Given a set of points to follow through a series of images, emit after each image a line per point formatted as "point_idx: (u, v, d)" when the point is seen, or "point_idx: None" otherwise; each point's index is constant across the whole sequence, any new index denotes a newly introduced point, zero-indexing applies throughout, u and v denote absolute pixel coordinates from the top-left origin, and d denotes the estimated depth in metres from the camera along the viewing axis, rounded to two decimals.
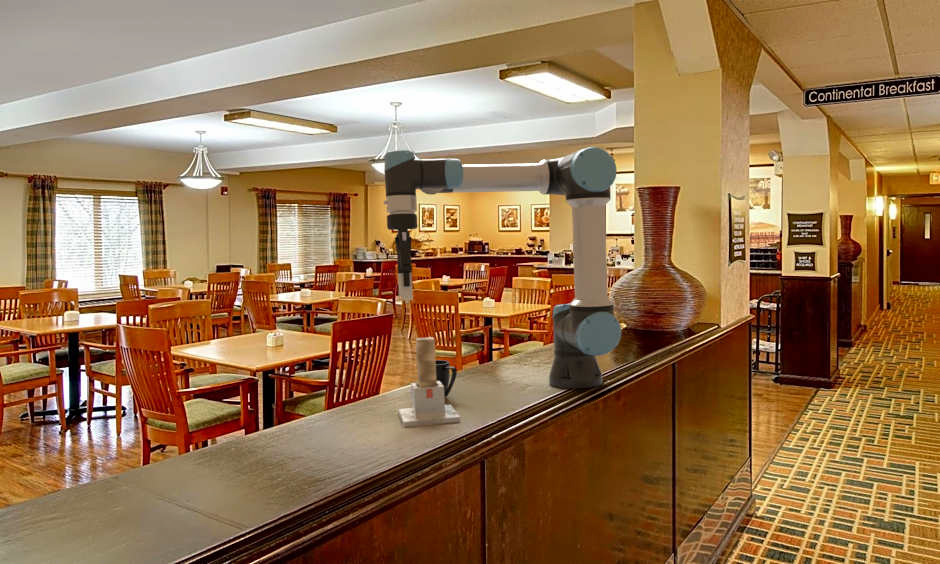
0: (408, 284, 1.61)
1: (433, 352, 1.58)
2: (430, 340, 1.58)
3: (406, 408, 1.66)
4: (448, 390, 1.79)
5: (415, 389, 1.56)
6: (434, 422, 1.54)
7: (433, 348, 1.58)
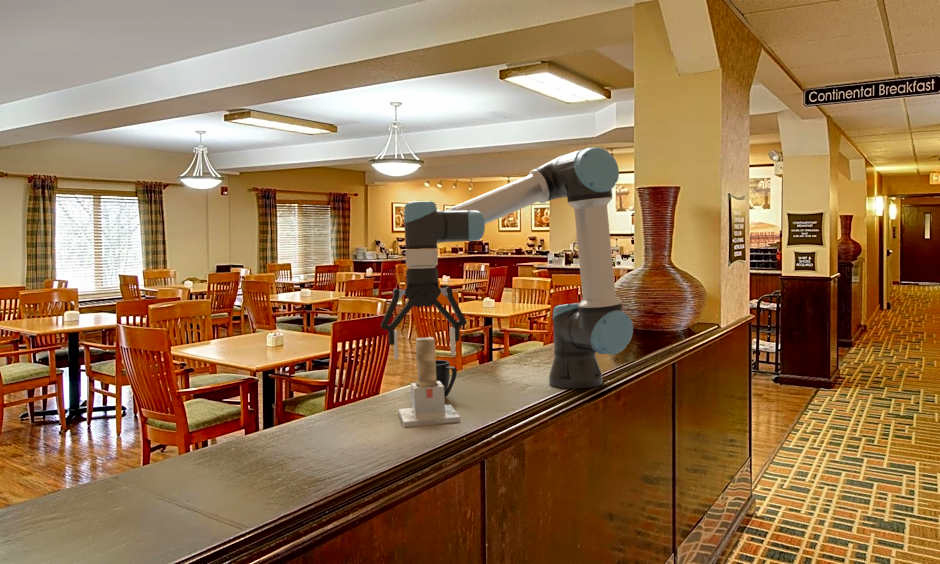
0: (389, 342, 1.58)
1: (433, 352, 1.58)
2: (430, 340, 1.58)
3: (406, 408, 1.66)
4: (448, 390, 1.79)
5: (415, 389, 1.56)
6: (434, 422, 1.54)
7: (433, 348, 1.58)
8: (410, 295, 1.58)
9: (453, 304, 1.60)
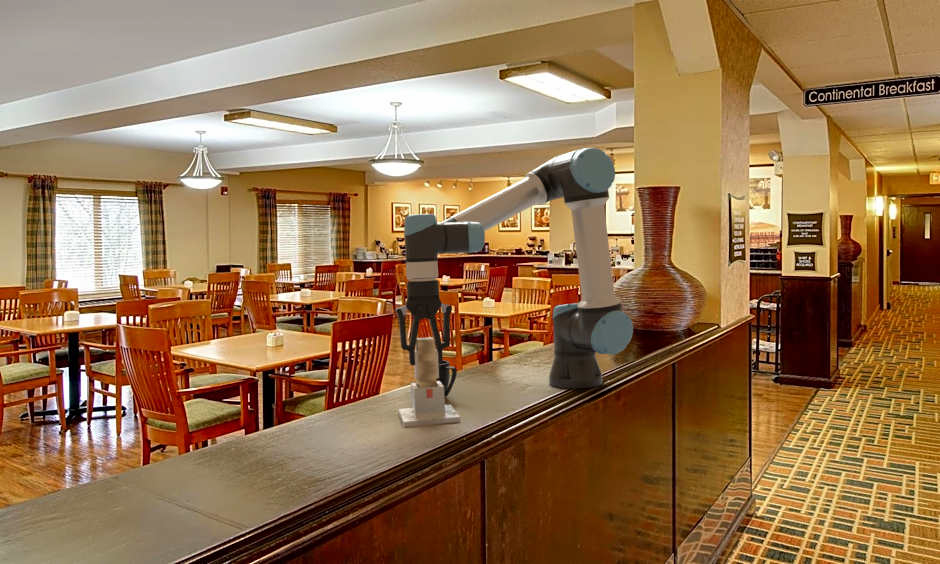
0: (410, 363, 1.59)
1: (433, 352, 1.58)
2: (430, 340, 1.58)
3: (406, 408, 1.66)
4: (448, 390, 1.79)
5: (415, 389, 1.56)
6: (434, 422, 1.54)
7: (433, 348, 1.58)
8: (412, 307, 1.58)
9: (446, 323, 1.59)
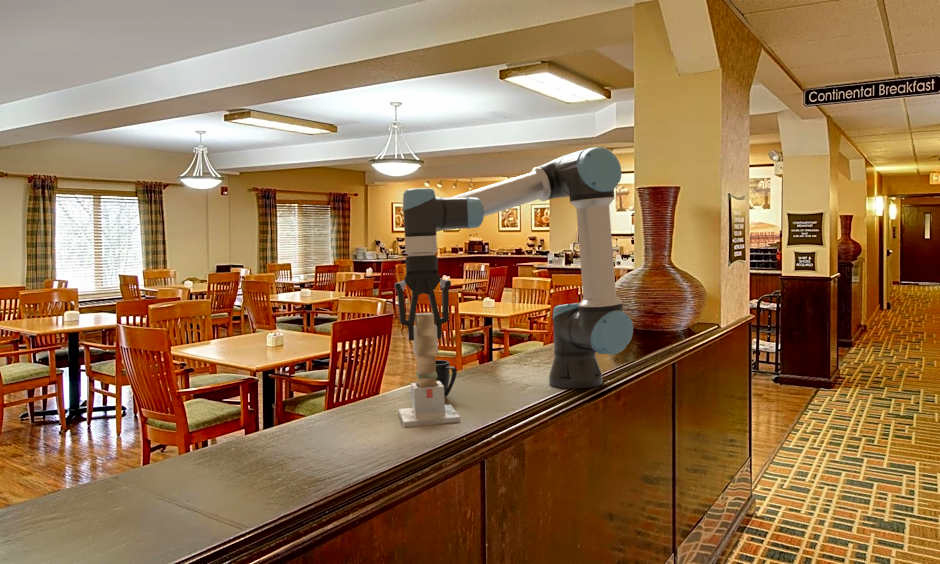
0: (409, 338, 1.59)
1: (432, 327, 1.58)
2: (429, 315, 1.58)
3: (406, 408, 1.66)
4: (448, 390, 1.79)
5: (415, 389, 1.56)
6: (434, 422, 1.54)
7: (432, 323, 1.58)
8: (411, 282, 1.57)
9: (445, 298, 1.59)
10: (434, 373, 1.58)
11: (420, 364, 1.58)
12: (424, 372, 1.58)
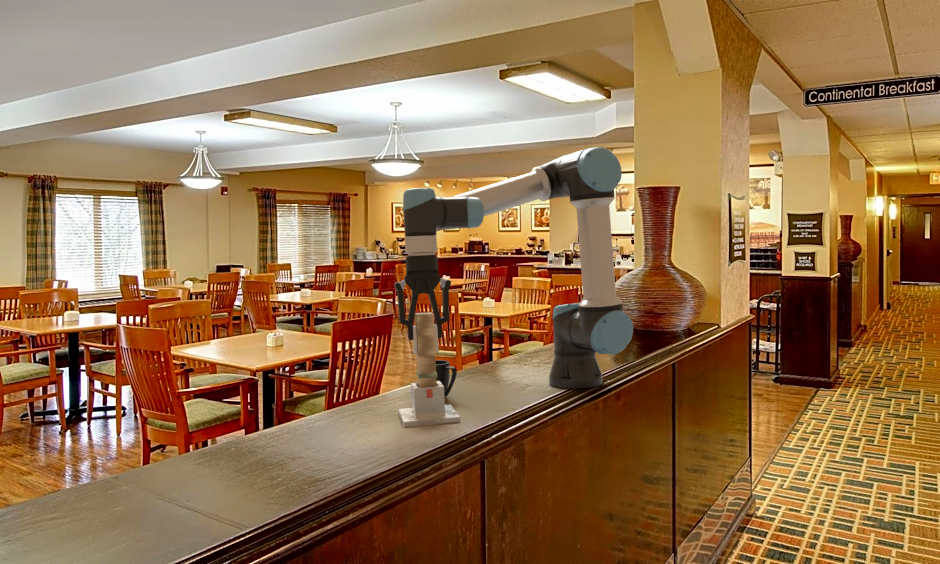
0: (408, 337, 1.59)
1: (432, 327, 1.58)
2: (429, 315, 1.58)
3: (406, 408, 1.66)
4: (448, 390, 1.79)
5: (415, 389, 1.56)
6: (434, 422, 1.54)
7: (432, 323, 1.58)
8: (411, 282, 1.57)
9: (445, 298, 1.59)
10: (434, 373, 1.58)
11: (420, 364, 1.58)
12: (424, 372, 1.58)
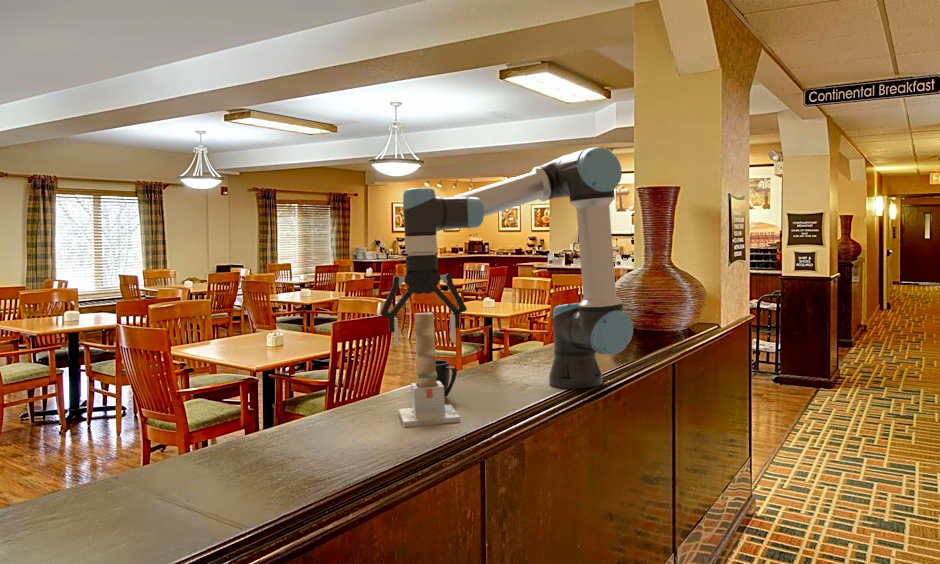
0: (389, 329, 1.58)
1: (432, 327, 1.58)
2: (429, 315, 1.58)
3: (406, 408, 1.66)
4: (448, 390, 1.79)
5: (415, 389, 1.56)
6: (434, 422, 1.54)
7: (432, 323, 1.58)
8: (410, 282, 1.57)
9: (453, 291, 1.59)
10: (434, 373, 1.58)
11: (420, 364, 1.58)
12: (424, 372, 1.58)
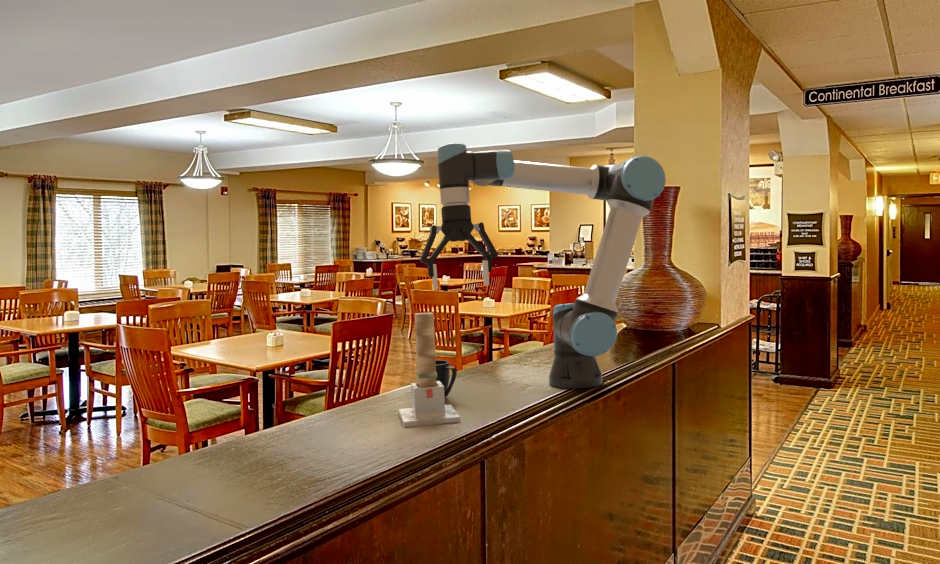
0: (429, 275, 1.72)
1: (432, 327, 1.58)
2: (429, 315, 1.58)
3: (406, 408, 1.66)
4: (448, 390, 1.79)
5: (415, 389, 1.56)
6: (434, 422, 1.54)
7: (432, 323, 1.58)
8: (446, 230, 1.72)
9: (485, 238, 1.74)
10: (434, 373, 1.58)
11: (420, 364, 1.58)
12: (424, 372, 1.58)
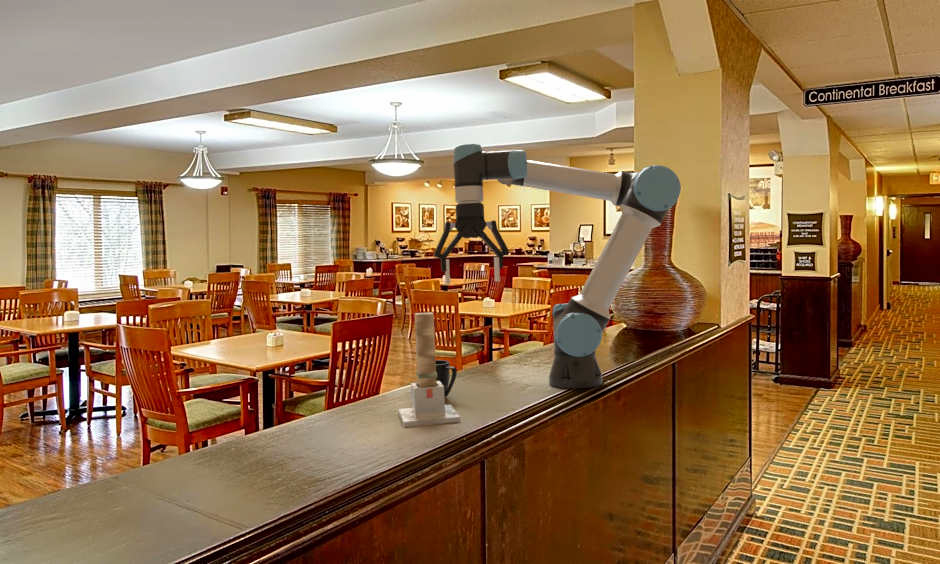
0: (441, 269, 1.79)
1: (432, 327, 1.58)
2: (429, 315, 1.58)
3: (406, 408, 1.66)
4: (448, 390, 1.79)
5: (415, 389, 1.56)
6: (434, 422, 1.54)
7: (432, 323, 1.58)
8: (460, 227, 1.79)
9: (497, 235, 1.81)
10: (434, 373, 1.58)
11: (420, 364, 1.58)
12: (424, 372, 1.58)
